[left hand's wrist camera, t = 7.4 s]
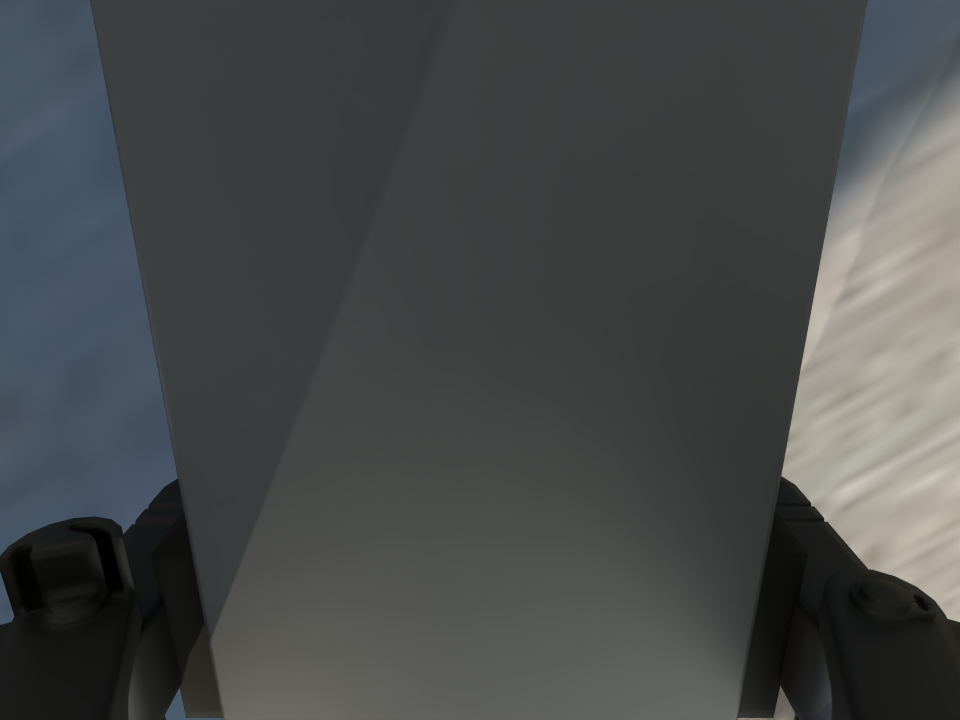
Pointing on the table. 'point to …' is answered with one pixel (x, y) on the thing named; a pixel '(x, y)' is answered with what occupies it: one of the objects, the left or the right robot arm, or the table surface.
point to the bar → (479, 335)
